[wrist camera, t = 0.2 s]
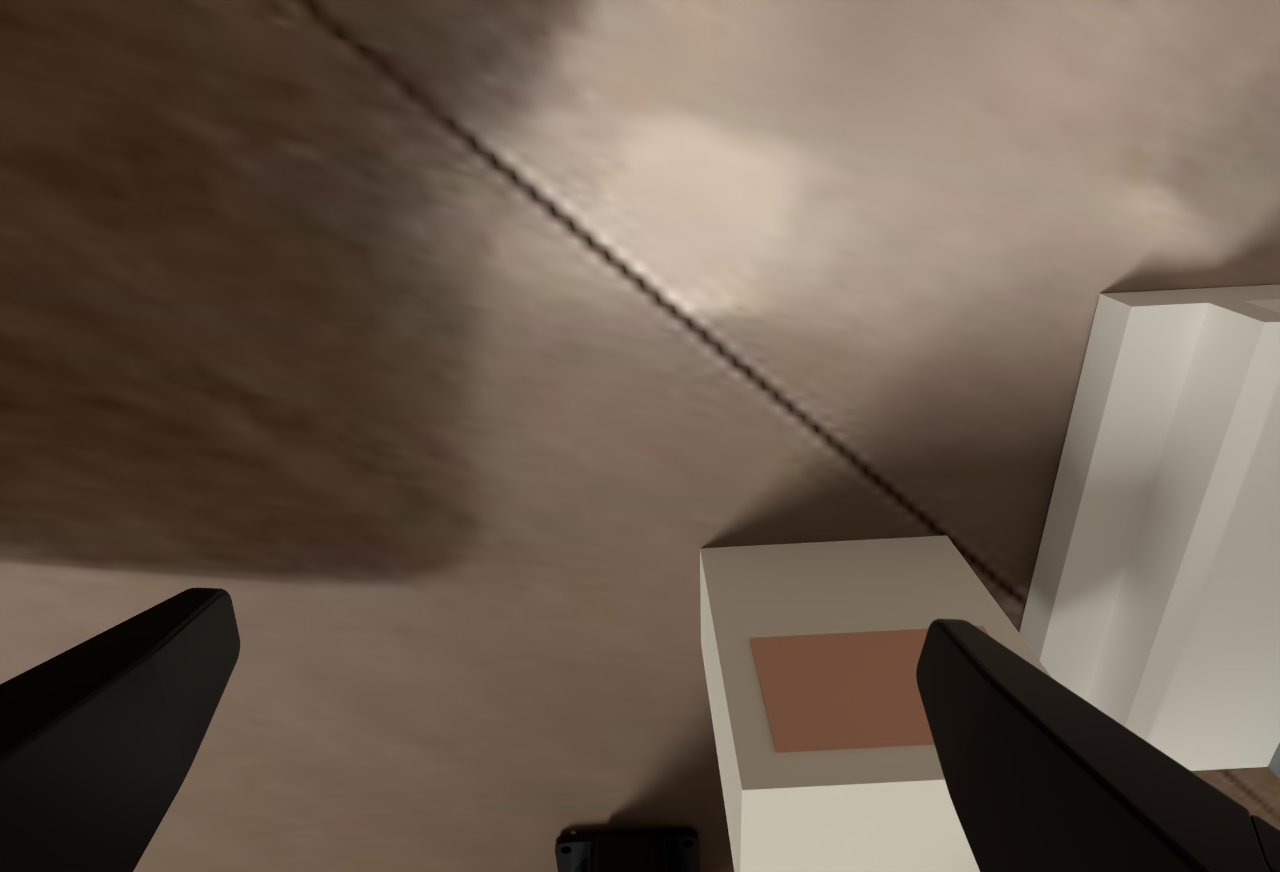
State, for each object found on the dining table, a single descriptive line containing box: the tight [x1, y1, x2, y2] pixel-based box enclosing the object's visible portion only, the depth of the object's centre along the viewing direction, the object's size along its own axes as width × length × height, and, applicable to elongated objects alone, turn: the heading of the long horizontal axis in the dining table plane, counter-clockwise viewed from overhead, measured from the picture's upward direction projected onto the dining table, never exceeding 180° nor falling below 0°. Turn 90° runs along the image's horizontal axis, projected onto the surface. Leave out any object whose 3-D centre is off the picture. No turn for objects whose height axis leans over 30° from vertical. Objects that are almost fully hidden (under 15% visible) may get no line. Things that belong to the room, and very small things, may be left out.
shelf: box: [1019, 284, 1280, 779], centre depth 25 cm, size 20×14×4 cm
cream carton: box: [700, 535, 1052, 872], centre depth 22 cm, size 5×9×10 cm, turn 93°
